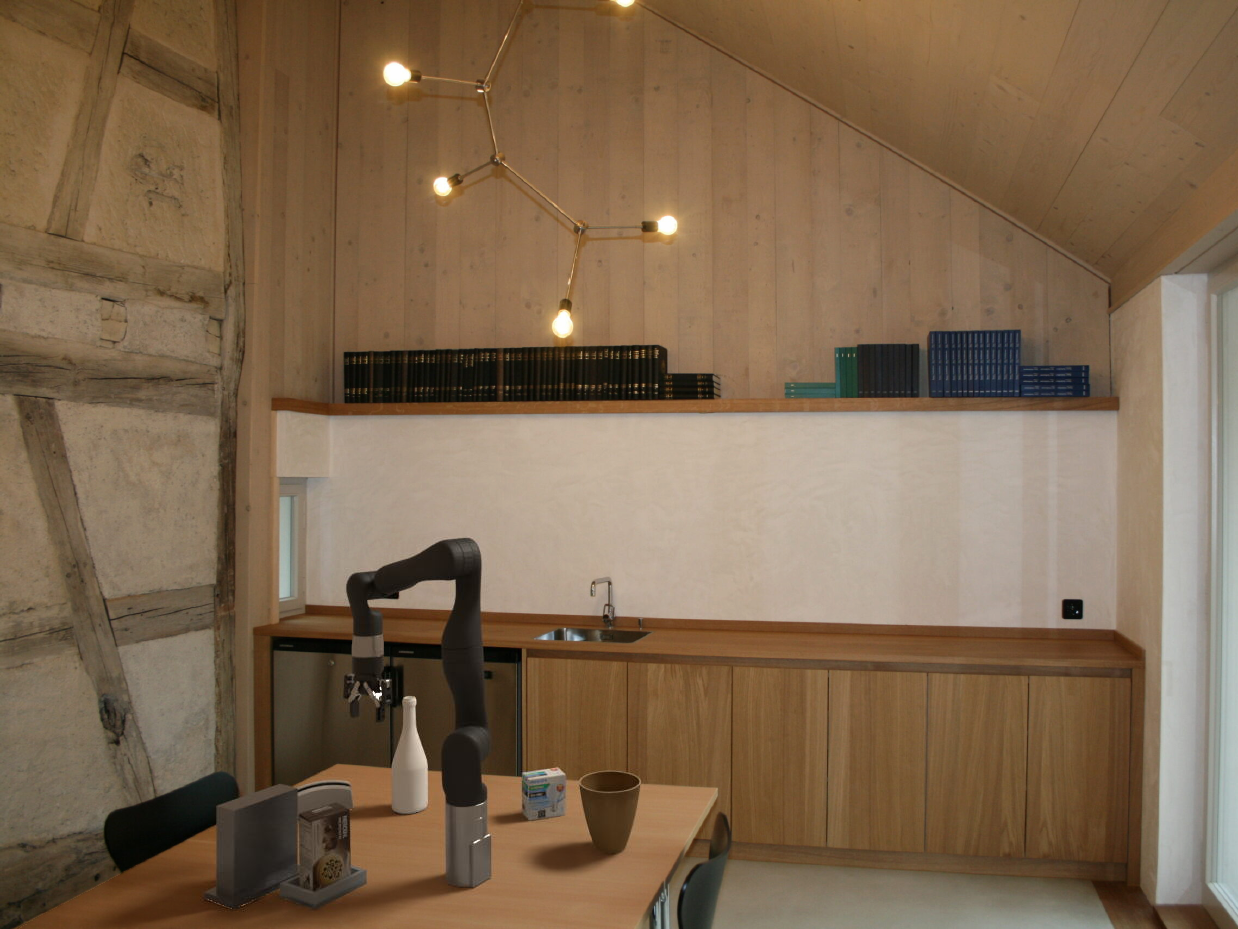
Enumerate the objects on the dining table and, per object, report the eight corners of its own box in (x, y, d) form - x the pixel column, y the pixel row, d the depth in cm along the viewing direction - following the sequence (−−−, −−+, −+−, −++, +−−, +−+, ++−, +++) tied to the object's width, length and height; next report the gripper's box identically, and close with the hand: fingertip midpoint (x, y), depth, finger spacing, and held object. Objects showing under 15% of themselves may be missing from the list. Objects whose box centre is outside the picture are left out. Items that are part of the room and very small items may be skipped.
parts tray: (366, 883, 192) (366, 869, 192) (314, 910, 180) (314, 895, 181) (332, 872, 198) (332, 859, 198) (279, 897, 186) (279, 883, 186)
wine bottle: (411, 800, 244) (411, 691, 245) (435, 807, 239) (434, 696, 240) (384, 810, 237) (383, 698, 237) (407, 817, 231) (407, 703, 232)
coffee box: (337, 874, 195) (337, 801, 195) (351, 883, 190) (351, 808, 191) (297, 888, 188) (297, 812, 189) (312, 898, 184) (312, 820, 184)
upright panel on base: (309, 875, 197) (309, 787, 197) (233, 910, 181) (233, 814, 181) (280, 865, 202) (280, 780, 203) (204, 899, 186) (204, 806, 186)
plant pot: (566, 848, 210) (566, 781, 210) (609, 830, 221) (608, 766, 221) (611, 866, 200) (611, 795, 200) (654, 846, 211) (653, 779, 211)
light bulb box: (528, 821, 228) (528, 779, 228) (520, 812, 234) (520, 772, 234) (567, 815, 232) (566, 773, 232) (558, 806, 238) (558, 766, 238)
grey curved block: (351, 803, 242) (353, 773, 239) (353, 815, 238) (355, 783, 235) (287, 813, 235) (288, 781, 232) (288, 825, 231) (289, 793, 228)
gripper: (335, 652, 215) (334, 719, 215) (377, 658, 208) (377, 727, 208) (358, 647, 222) (358, 712, 221) (400, 653, 215) (399, 719, 214)
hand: (367, 719), depth 214 cm, fingers open, 8 cm apart
